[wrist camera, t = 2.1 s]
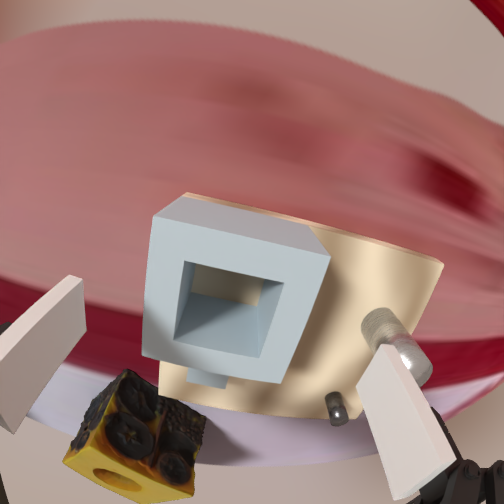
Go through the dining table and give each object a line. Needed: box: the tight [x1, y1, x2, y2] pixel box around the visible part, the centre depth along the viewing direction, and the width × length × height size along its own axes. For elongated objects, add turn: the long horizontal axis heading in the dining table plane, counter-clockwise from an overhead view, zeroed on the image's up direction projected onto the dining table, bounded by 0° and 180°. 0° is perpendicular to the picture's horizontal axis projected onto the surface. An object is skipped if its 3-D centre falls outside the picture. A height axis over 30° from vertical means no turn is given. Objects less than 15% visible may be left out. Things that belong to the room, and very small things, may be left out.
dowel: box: [324, 391, 349, 426], centre depth 22 cm, size 2×2×3 cm
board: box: [158, 192, 444, 419], centre depth 22 cm, size 20×18×2 cm
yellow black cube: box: [62, 369, 206, 504], centre depth 22 cm, size 10×10×10 cm
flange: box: [142, 196, 331, 389], centre depth 17 cm, size 13×8×6 cm, turn 166°
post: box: [361, 307, 433, 388], centre depth 17 cm, size 3×3×6 cm
